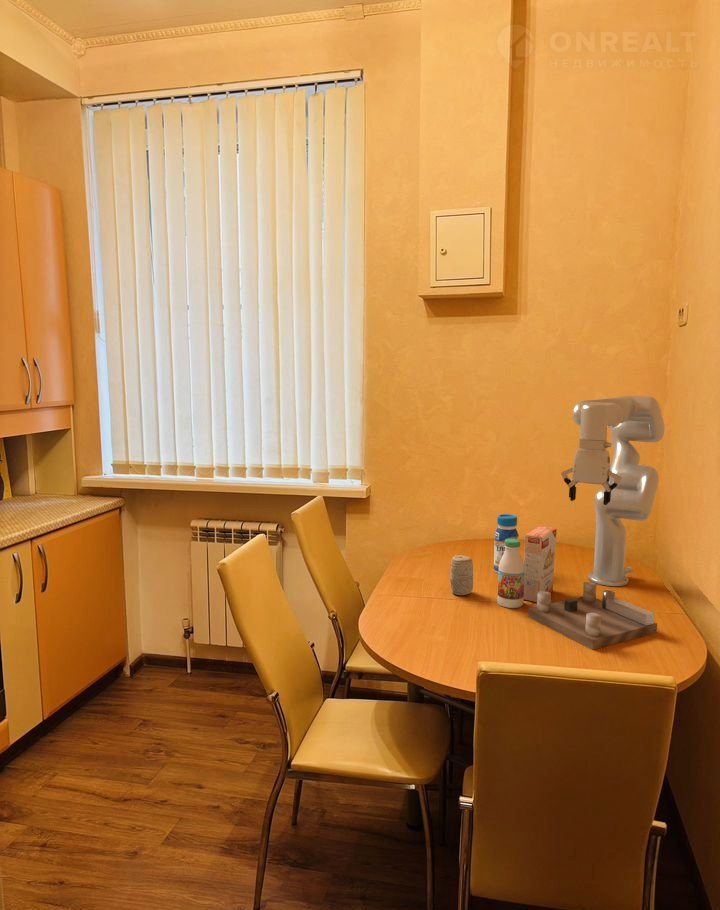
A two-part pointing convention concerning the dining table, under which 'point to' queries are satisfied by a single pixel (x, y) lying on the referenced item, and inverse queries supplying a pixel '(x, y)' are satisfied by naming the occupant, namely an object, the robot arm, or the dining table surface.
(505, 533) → the beverage bottle
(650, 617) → the hinged leg
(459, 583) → the carving
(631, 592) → the dining table surface
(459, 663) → the dining table surface
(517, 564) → the milk bottle
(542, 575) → the cracker box
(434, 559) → the dining table surface
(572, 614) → the brown board with pegs
